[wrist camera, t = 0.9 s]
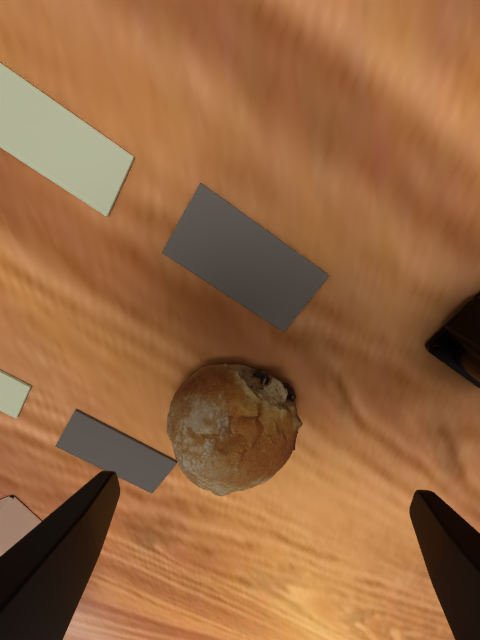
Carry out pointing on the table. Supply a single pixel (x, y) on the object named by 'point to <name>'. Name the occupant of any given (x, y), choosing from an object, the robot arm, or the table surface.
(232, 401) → the bread roll
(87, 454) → the trap lane
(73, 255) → the table surface
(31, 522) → the gable box
